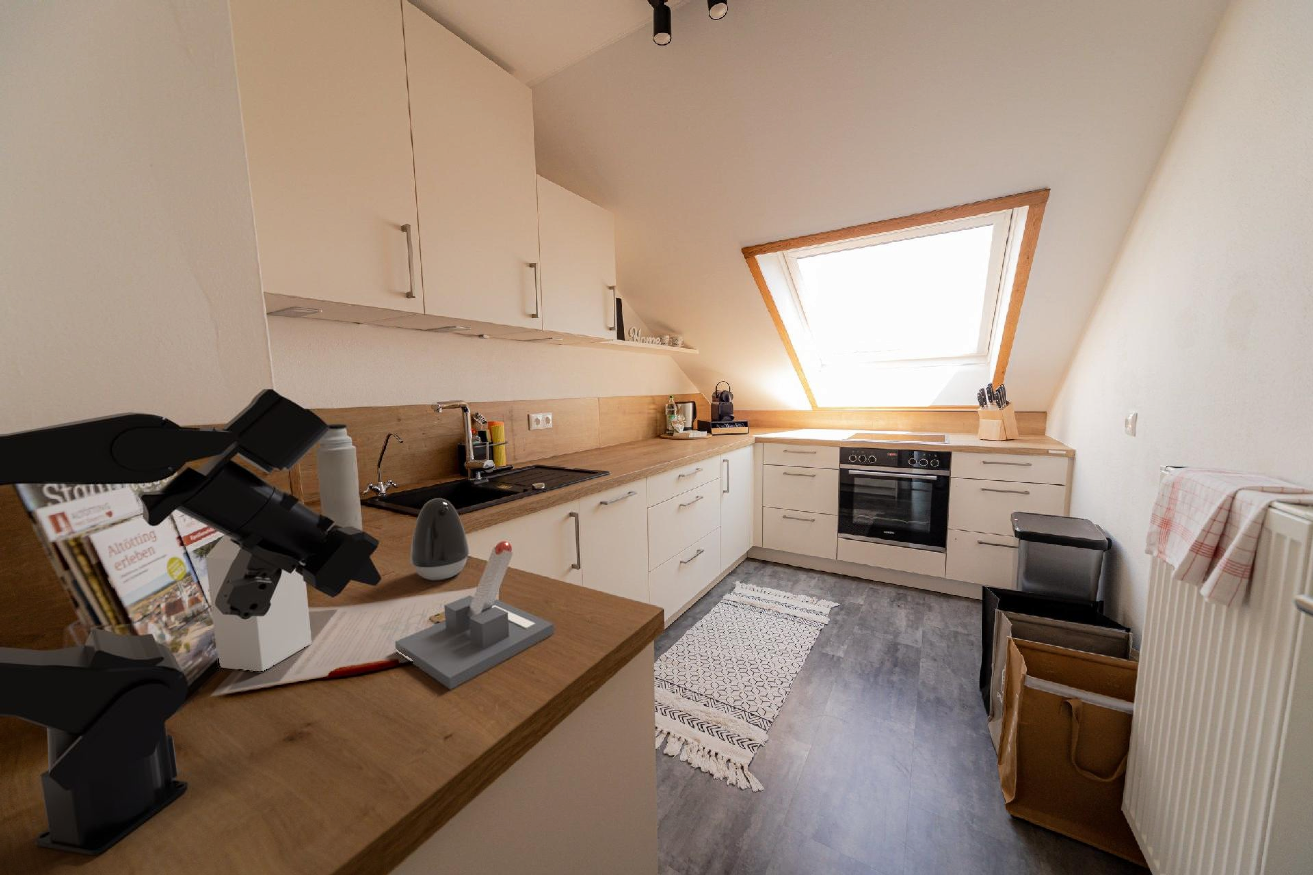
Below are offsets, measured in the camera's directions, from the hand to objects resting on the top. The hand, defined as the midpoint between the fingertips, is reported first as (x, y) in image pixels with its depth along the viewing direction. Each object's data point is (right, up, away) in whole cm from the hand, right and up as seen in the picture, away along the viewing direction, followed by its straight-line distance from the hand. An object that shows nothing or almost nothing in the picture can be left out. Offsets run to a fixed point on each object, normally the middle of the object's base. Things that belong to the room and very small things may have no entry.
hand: (377, 581), depth 56 cm
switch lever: (+8, -9, +11) cm, 16 cm away
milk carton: (-20, -13, +9) cm, 25 cm away
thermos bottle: (-44, -8, +61) cm, 75 cm away
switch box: (+8, -12, +11) cm, 18 cm away
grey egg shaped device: (-9, -10, +36) cm, 38 cm away
